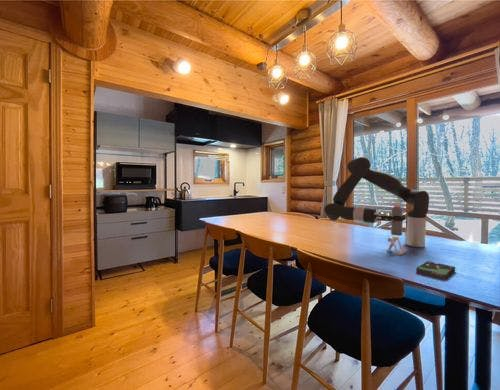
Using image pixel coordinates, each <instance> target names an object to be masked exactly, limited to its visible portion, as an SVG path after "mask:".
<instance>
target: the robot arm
mask: <svg viewBox="0 0 500 390" xmlns="http://www.w3.org/2000/svg"><path fill="white" fill-rule="evenodd" d="M346 165H347V167H346V169H347V171H348V172H349V173H350V175H349V176H348V177H347V178H346V179H345V181H343V183H342V184H340V186H339V187H338V189H337V190H336V192H335V194H334V195H333V198H332V201H333V203H332V202H331V203H327V204H326V205H325V206H324V208H323V212H324V214H325V215H326V216H327V218H328V219H330V221H337V220H339V219H340V218H342V219H344V220H346V221H355V222H358V223H359V222H360V223H368V224H374V223H375V222H376V221H377V222H382V221H383V222H384V221H385V222H391V221H393V220H394V221H402V222H403V221H404V220H405V219H406V218H407V221H406V222H407V224H406V225H407V226H406V228H405V238H404V239H405V240H404V244H405V245H407V246H411V247H414V248H424V247H425V245H426V230H427V229H426V228H427V214H428V213H429V207H430V204H429V203H430V195H429V193H428V192H427V191H425V190H422V189H418V190H417V189H413V188H409V187H407V186H405V185H403V184H402V183H401V181H400V180H399V178H397V177H395V176H394V175H392V174H390V173H388V172H385V171H380V170H375V169H372V168H371V161H370V159H369V158H367V157H365V156H359V157H357V158H354V159H351V160H350V161H348V163H347V164H346ZM362 179H363V180H365V181H368V182H369V183H371V184H372V185H375V186H377V188H380V189H381V190H384V191H386V192H388V193H390V194H392V195H394V196H397V197H398V198H400V199H401V200H403V201H404V202H405V203H407V205H411V206H413V208H412V210H409V211H407V217H406V215H405V214H403V216H394V215H392V212H385V211H379V212H377V209H376V207H367V206H366V207H365V206H345V204H346V203H347V201H348V200H349V197H350V196H351V194H352V193H353V191H354V190H355V188H356V187H357V185H358V184H359V183H360V182H361V180H362Z"/></svg>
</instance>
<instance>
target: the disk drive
mask: <svg viewBox="0 0 500 390" xmlns="http://www.w3.org/2000/svg"><path fill="white" fill-rule="evenodd" d="M415 269H416V274H418V275H419V274H420V275H424V276H427V277H432V278H436V279H439V280H443V281H446V280H448V279H449V278H450V277H451V276H452V275H453V274H455V272H456V266H452V265H448V264H443V263H435V262H434V261H429V260H426V261H425V262H424V263H421V264H420V265H419V266H417V267H416V268H415Z"/></svg>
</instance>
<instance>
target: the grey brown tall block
mask: <svg viewBox="0 0 500 390" xmlns="http://www.w3.org/2000/svg"><path fill="white" fill-rule="evenodd" d="M401 203H402V202H398V201H397V202H396V201H394V203H393V206H394V207H393V208H392V209H391V213H392V215H394V216H403V215H404V214H403V212H404V210H403V208H402V207H401ZM390 222H391V228H390V229H391V230H390V233H391V236H399V237H400V236H403V221H394V220H393V221H390Z"/></svg>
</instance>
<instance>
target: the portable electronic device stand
mask: <svg viewBox="0 0 500 390" xmlns="http://www.w3.org/2000/svg"><path fill="white" fill-rule="evenodd" d="M396 241H397V244H398V245H399V248H400V250H401V251H399V249H398V247H397V244H396ZM387 242H389V243H390V245H389V246H388V248H387V250H386V252H389V251H391V250H392V248H394V249H395V252H396V255H397V256H401V255H403V254H406V253H407V252H408V249H407V248H403V246H402V244H401V241H400V238H399V237H398V236H397V235H392V236H391V237H388V238H387Z"/></svg>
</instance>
